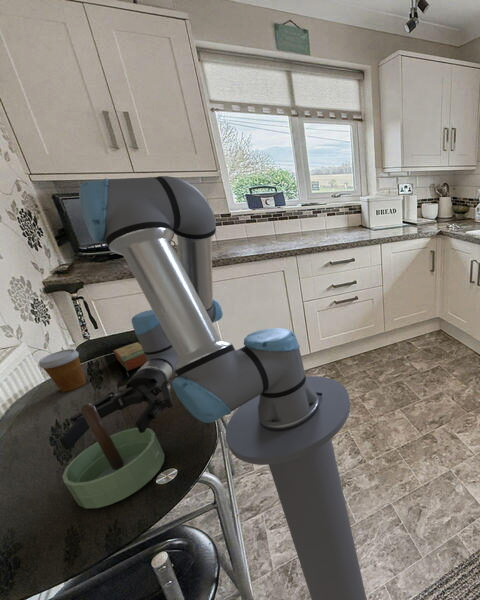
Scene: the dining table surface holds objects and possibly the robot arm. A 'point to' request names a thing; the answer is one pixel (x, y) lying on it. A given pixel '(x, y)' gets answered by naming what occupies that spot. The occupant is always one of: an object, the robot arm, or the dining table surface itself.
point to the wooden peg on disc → (104, 440)
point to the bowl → (120, 483)
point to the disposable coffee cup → (64, 369)
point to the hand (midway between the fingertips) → (102, 436)
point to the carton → (131, 356)
